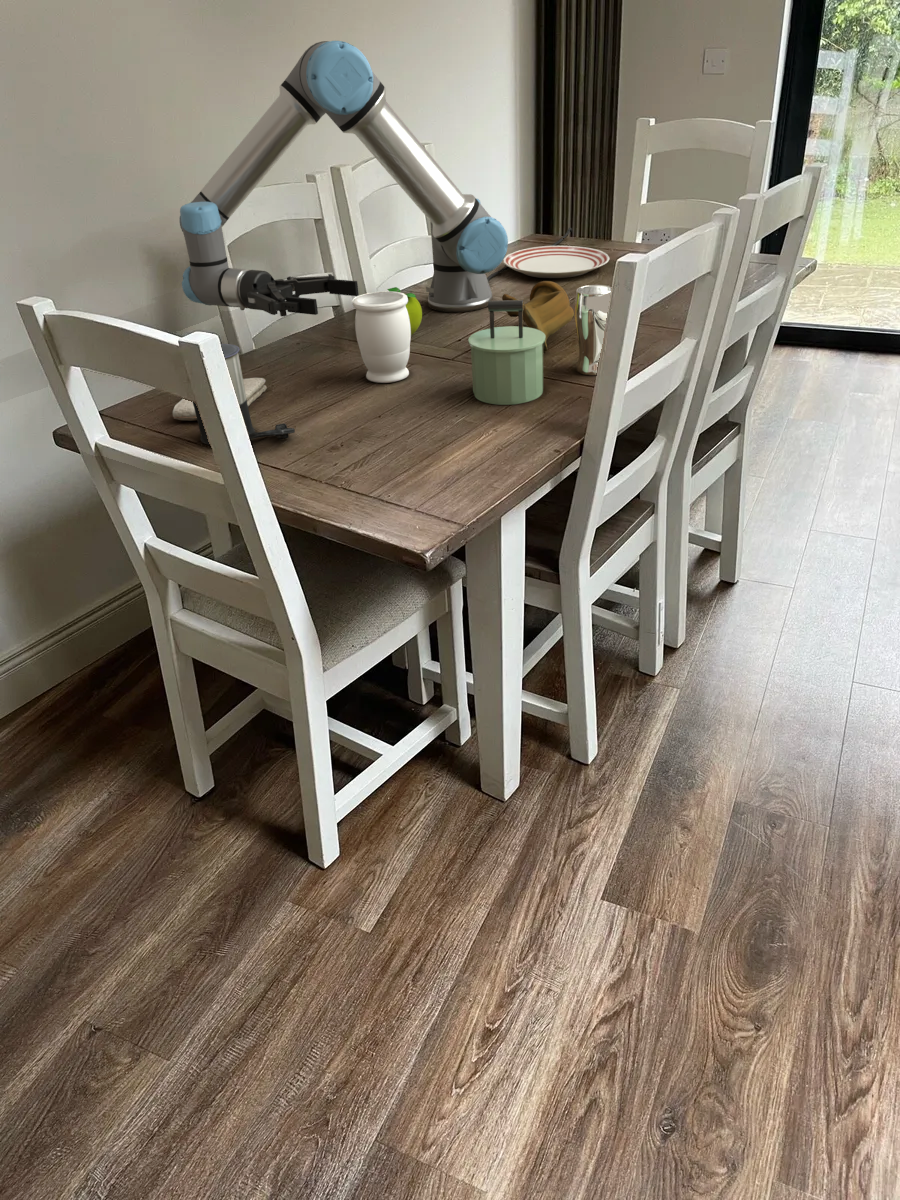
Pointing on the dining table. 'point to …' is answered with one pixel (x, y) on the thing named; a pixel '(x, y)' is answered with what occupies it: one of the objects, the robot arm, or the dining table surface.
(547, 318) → the brown looped sculpture
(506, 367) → the pot
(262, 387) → the washcloth
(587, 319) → the beer glass
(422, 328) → the dining table surface
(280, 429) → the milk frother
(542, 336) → the pot lid
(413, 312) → the fruit
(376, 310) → the jar
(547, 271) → the dinner plate
